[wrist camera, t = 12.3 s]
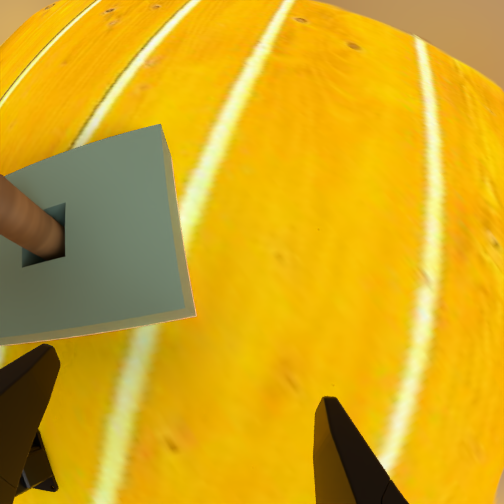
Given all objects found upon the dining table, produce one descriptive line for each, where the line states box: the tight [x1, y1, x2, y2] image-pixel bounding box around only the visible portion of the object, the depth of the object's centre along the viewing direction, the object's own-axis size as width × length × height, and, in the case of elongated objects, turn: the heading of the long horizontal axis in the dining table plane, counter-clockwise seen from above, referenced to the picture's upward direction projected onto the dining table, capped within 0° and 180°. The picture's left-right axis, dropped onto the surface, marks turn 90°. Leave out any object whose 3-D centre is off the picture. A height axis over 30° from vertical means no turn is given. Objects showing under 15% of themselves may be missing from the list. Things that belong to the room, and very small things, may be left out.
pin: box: [0, 174, 65, 261], centre depth 18 cm, size 3×3×11 cm
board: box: [0, 124, 197, 346], centre depth 21 cm, size 20×14×5 cm
